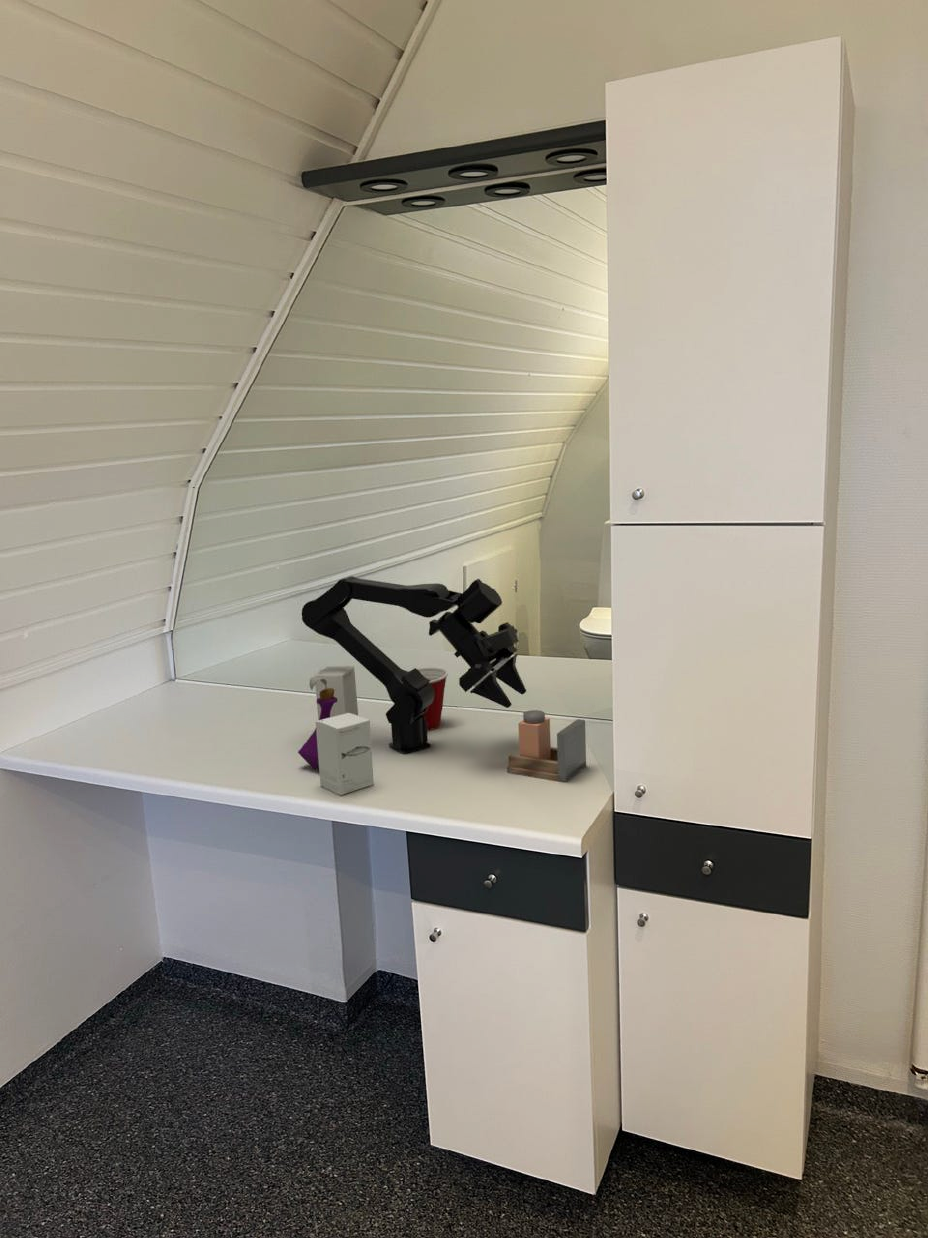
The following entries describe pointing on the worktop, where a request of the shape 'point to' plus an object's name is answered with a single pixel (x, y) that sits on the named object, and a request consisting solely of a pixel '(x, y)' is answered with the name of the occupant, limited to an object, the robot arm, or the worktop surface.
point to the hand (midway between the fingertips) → (517, 699)
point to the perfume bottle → (326, 703)
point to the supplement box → (344, 753)
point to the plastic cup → (438, 684)
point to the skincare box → (339, 689)
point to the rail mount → (556, 756)
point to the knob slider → (535, 735)
